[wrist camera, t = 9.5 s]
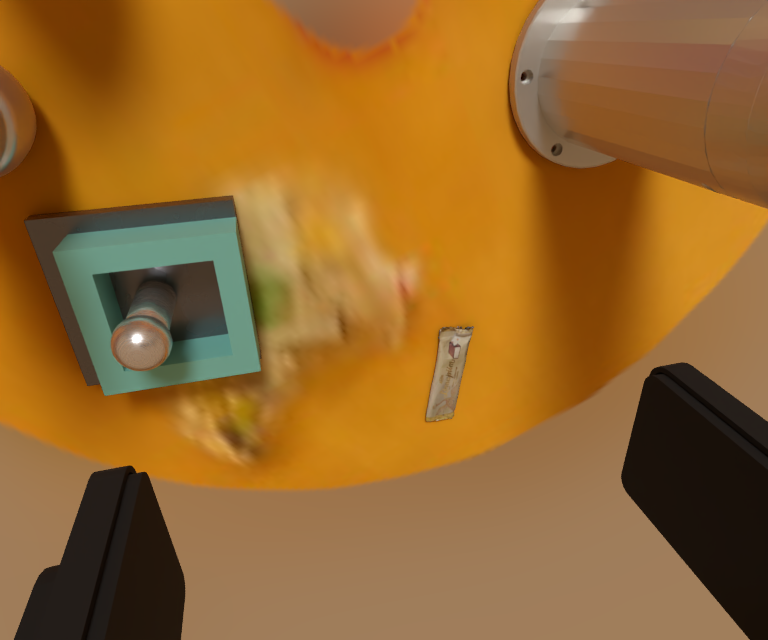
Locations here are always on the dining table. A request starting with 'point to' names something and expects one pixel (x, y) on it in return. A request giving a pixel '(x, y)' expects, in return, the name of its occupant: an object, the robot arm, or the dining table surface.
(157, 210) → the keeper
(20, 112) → the plastic bottle
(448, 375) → the snack bar
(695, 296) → the dining table surface
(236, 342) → the teal square frame
